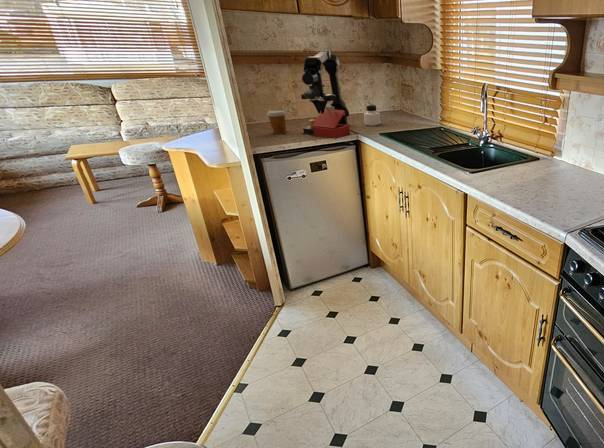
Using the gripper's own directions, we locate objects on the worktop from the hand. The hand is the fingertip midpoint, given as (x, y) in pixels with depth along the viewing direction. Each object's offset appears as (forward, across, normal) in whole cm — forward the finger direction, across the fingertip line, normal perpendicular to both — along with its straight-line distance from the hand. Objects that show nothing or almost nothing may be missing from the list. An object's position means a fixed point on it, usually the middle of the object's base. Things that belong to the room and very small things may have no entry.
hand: (321, 113), depth 217 cm
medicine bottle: (+13, +4, +40) cm, 43 cm away
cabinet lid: (+4, 0, +6) cm, 7 cm away
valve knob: (+10, -13, +7) cm, 18 cm away
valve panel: (+13, -13, +8) cm, 20 cm away
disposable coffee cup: (+13, -30, -2) cm, 33 cm away
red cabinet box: (+13, 0, +6) cm, 14 cm away
